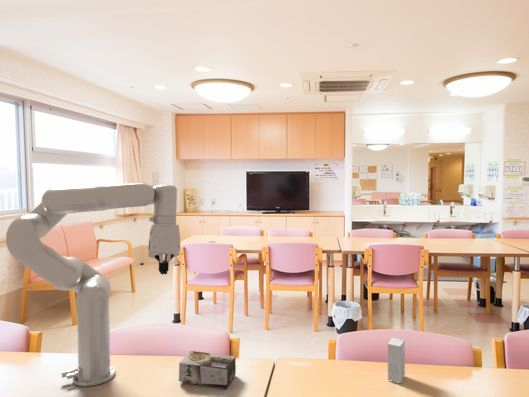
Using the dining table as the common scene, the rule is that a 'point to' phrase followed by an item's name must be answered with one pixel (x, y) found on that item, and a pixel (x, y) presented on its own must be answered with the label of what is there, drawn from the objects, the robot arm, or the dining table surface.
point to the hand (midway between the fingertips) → (163, 273)
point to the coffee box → (207, 369)
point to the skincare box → (396, 360)
